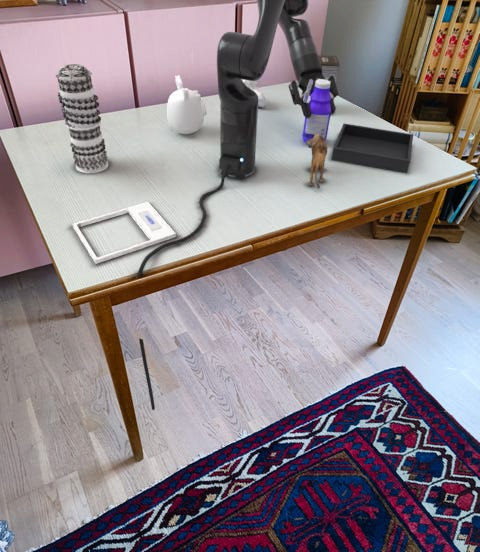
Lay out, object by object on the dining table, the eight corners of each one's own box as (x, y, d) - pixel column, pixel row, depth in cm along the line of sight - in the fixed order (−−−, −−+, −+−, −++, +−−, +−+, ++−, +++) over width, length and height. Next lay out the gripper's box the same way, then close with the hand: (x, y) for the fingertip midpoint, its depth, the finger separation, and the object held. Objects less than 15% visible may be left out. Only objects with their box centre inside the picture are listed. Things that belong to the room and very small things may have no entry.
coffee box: (310, 103, 160) (316, 54, 149) (328, 104, 160) (336, 55, 150) (313, 114, 153) (319, 63, 143) (332, 115, 153) (340, 64, 143)
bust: (243, 104, 164) (226, 81, 155) (258, 88, 163) (242, 64, 154) (260, 117, 156) (243, 93, 147) (276, 100, 155) (260, 76, 146)
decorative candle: (66, 170, 121) (42, 70, 105) (87, 155, 128) (67, 59, 111) (97, 177, 119) (77, 76, 102) (116, 161, 126) (100, 64, 109)
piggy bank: (214, 134, 140) (213, 84, 130) (180, 143, 134) (176, 91, 125) (193, 120, 147) (191, 71, 137) (160, 128, 142) (156, 77, 132)
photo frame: (175, 232, 100) (94, 259, 92) (176, 236, 101) (95, 263, 93) (147, 201, 109) (72, 223, 101) (148, 205, 110) (73, 227, 102)
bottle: (325, 138, 139) (335, 78, 128) (326, 146, 135) (336, 86, 123) (301, 136, 140) (309, 76, 128) (301, 144, 135) (309, 84, 124)
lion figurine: (303, 162, 128) (307, 131, 122) (322, 163, 128) (327, 132, 122) (308, 190, 117) (313, 157, 111) (329, 190, 117) (335, 158, 111)
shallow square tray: (406, 173, 125) (410, 161, 123) (331, 159, 130) (333, 147, 127) (410, 145, 138) (413, 134, 135) (341, 134, 142) (343, 123, 140)
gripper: (288, 54, 125) (304, 113, 125) (333, 49, 129) (349, 106, 129) (277, 69, 132) (293, 124, 132) (320, 63, 137) (335, 117, 136)
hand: (320, 115), depth 131 cm, fingers closed on bottle, 7 cm apart
